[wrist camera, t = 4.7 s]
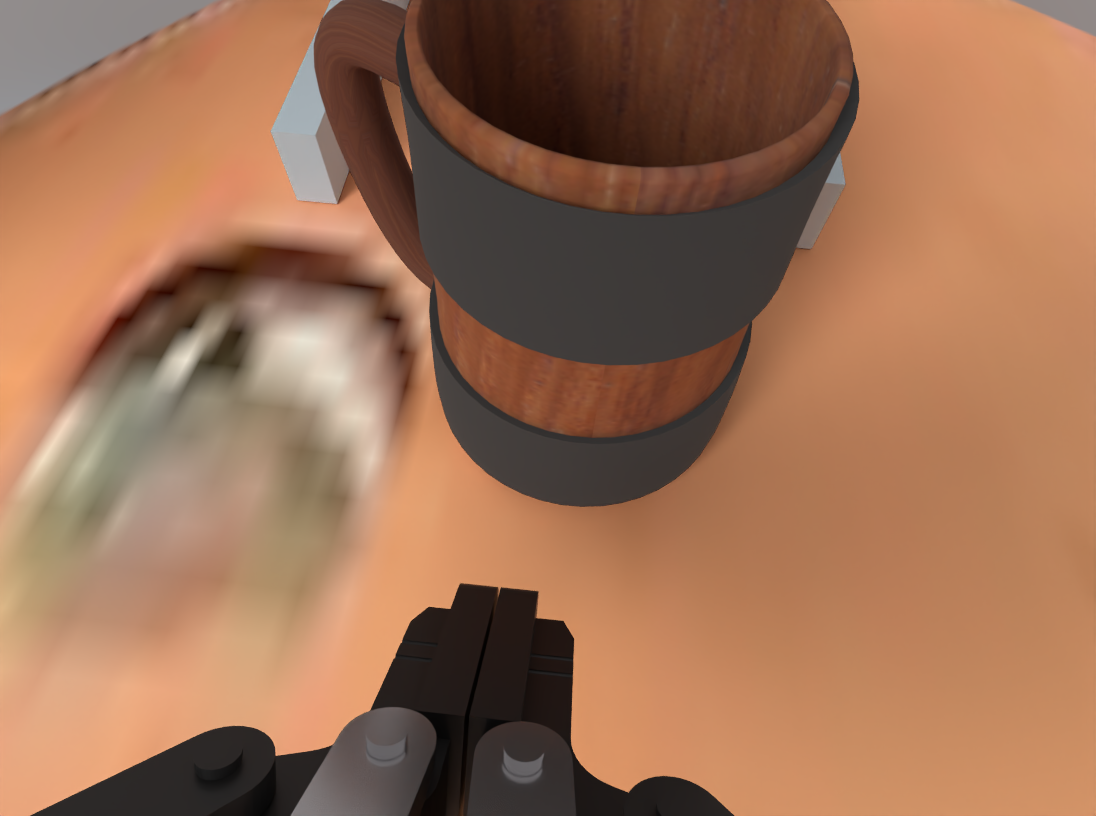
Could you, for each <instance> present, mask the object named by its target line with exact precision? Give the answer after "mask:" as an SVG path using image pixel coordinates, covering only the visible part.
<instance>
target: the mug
mask: <svg viewBox="0 0 1096 816" xmlns="http://www.w3.org/2000/svg"><path fill="white" fill-rule="evenodd" d="M314 68H315V73H316V78H317V83H318V87H319V92H320V95H321V98H322V101H323V105H324V108H325V111H326V114H327V117H328V120H329V122H330V125H331V128H332V130H333V133H334V135H335V138H336V141H337V143H338V145H339V148H340V150H341V152H342V155H343V157H344V159H345V161H346V164H347V166H348V168H349V170H350V172H351V175H352V177H353V179H354V181H355V183H356V185H357V187H358V189H359V191H360V193H361V195H362V197H363V199H364V201H365V203H366V205H367V206H368V208H369V210H370V212H371V214H372V216H373V218H374V219H375V221H376V223H377V224H378V226H379V228H380V229H381V231H382V233H383V234H384V236H385V238H386V239H387V241H388V242H389V243H390V245H391V246H392V248H393V249H394V251H395V252H396V254H397V255H398V256H399V257H400V259H401V260H402V261H403V262H404V264H405V265H406V266H407V267H408V269H409V270H410V271H411V272H412V273H413V274H414V275H415V276H416V277H417V278H418V279H419V280H420V281H422V282H423V283H424V284H425V285H426V286H428V287H429V288H430V289H431V293H430V308H429V314H430V327H431V340H432V350H433V359H434V368H435V375H436V382H437V386H438V391H439V395H440V399H441V402H442V406H443V410H444V413H445V416H446V419H447V421H448V423H449V426H450V428H451V430H452V432H453V434H454V436H455V437H456V439H457V440H458V442H459V443H460V445H461V447H462V448H463V449H464V450H465V451H466V453H467V454H468V455H469V456H470V457H471V459H472V460H473V461H474V462H475V463H476V464H478V465H479V466H480V467H481V468H482V469H483V470H484V471H485V472H486V473H488V474H489V475H490V476H492V477H493V478H495V479H496V480H498V481H499V482H501V483H502V484H504V485H506V486H508V487H510V488H512V489H514V490H516V491H518V492H520V493H522V494H524V495H527V496H530V497H533V498H536V499H539V500H542V501H546V502H551V503H555V504H560V505H569V506H579V507H587V506H605V505H612V504H618V503H623V502H627V501H630V500H633V499H637V498H640V497H643V496H645V495H647V494H650V493H652V492H654V491H656V490H659V489H660V488H662V487H663V486H665V485H667V484H668V483H670V482H672V481H673V480H675V479H676V478H677V477H678V476H679V475H681V474H682V473H683V472H684V471H685V470H687V469H688V468H689V467H690V466H691V464H692V463H693V462H694V461H695V460H696V459H697V458H698V457H699V456H700V454H701V453H702V451H703V450H704V448H705V446H706V445H707V443H708V442H709V440H710V439H711V437H712V436H713V434H714V432H715V430H716V428H717V427H718V425H719V423H720V420H721V418H722V416H723V414H724V411H725V409H726V407H727V405H728V402H729V400H730V398H731V396H732V393H733V391H734V388H735V386H736V383H737V380H738V377H739V375H740V372H741V369H742V366H743V364H744V361H745V358H746V355H747V351H748V347H749V343H750V338H751V327H752V320H753V319H754V318H755V317H756V316H757V315H758V314H759V313H760V312H761V311H762V310H763V309H764V308H765V307H766V306H767V304H768V303H769V302H770V300H771V299H772V297H773V296H774V294H775V293H776V291H777V290H778V288H779V286H780V283H781V281H782V279H783V277H784V274H785V272H786V270H787V268H788V265H789V263H790V261H791V258H792V256H793V254H794V251H795V249H796V247H797V244H798V242H799V240H800V237H801V235H802V233H803V230H804V228H805V226H806V224H807V221H808V219H809V217H810V214H811V212H812V210H813V208H814V206H815V204H816V201H817V199H818V197H819V195H820V193H821V191H822V189H823V187H824V184H825V182H826V180H827V178H828V176H829V174H830V172H831V170H832V168H833V166H834V164H835V161H836V159H837V157H838V155H839V153H840V151H841V149H842V147H843V145H844V143H845V141H846V139H847V137H848V135H849V132H850V130H851V128H852V126H853V123H854V121H855V119H856V114H857V108H858V103H859V81H858V77H857V73H856V69H855V65H854V62H853V53H852V49H851V45H850V41H849V37H848V35H847V33H846V30H845V28H844V26H843V24H842V22H841V20H840V18H839V17H838V16H837V14H836V13H835V11H834V10H833V8H832V7H831V5H830V4H829V3H828V2H827V1H826V0H411V1H410V5H409V8H408V11H407V10H405V9H403V8H401V7H399V6H397V5H395V4H392V3H389V2H385V1H382V0H342V1H340V2H339V3H338V4H336V5H335V6H334V7H333V8H331V9H330V10H329V11H328V12H327V13H326V14H325V16H324V17H323V18H322V20H321V22H320V25H319V28H318V31H317V33H316V36H315V41H314ZM380 76H381V77H383V78H385V79H387V80H389V81H391V82H393V83H395V84H396V85H398V86H400V91H401V97H402V103H403V109H404V115H405V122H406V128H407V134H408V141H409V148H410V155H411V164H412V171H411V169H410V167H409V164H408V162H407V159H406V157H405V155H404V152H403V150H402V147H401V144H400V142H399V139H398V136H397V134H396V131H395V128H394V125H393V122H392V119H391V116H390V113H389V110H388V107H387V103H386V100H385V96H384V92H383V89H382V85H381V80H380ZM412 172H413V174H412Z"/></svg>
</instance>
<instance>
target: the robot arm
mask: <svg viewBox="0 0 1096 816" xmlns="http://www.w3.org/2000/svg"><path fill="white" fill-rule="evenodd" d="M498 593H499V591H498V587H491V586H482V585H472V584H463V583H461V584H460V585H459V587H458V590H457V593H456V596H455V598H454V601H453V604H452V607H451V609H444V608H434V607H428V608H427V609H426V610H424V611H423V612H422V613H421V614H419V615H418V616H417V617H416V618H414V619H413V620H412V621H411V622H410V624H409V626H408V629H407V631H406V633H405V635H404V637H403V640H402V643H401V644H400V646H399V648H398V651H397V653H396V656H395V659H393V662H392V664H391V666H390V668H389V670H388V673H387V675H386V677H385V679H384V681H383V684H382V686H381V688H380V690H379V692H378V695H377V697H376V699H375V701H374V704H373V706H372V708H371V710H370V711H369V712H366V713H363V714H362V715H360V716H358V717H356V718H355V719H353V720H352V721H351V722H349V723H348V724H347V725H346V726H345V727H344V729H343V730H342V731H341V733H340V734H339V736H338V738H337V739H336V741H335V743H334V744H333V745H331V746H329V747H326V748H322V749H319V750H314V751H308V752H301V753H294V754H287V755H280V756H275V746H274V744H273V742H272V740H271V739H270V737H269V736H267V735H266V734H265V733H264V732H262V731H260V730H258V729H254V728H251V727H245V726H229V727H222V728H217V729H213V730H210V731H207V732H204V733H202V734H200V735H197V736H195V737H193V738H191V739H189V740H187V741H185V742H183V743H180V744H178V745H176V746H174V747H172V748H170V749H168V750H166V751H164V752H162V753H160V754H158V755H156V756H153V757H151V758H149V759H147V760H145V761H143V762H141V763H139V764H137V765H135V766H133V767H131V768H128V769H126V770H124V771H122V772H120V773H118V774H116V775H114V776H112V777H110V778H108V779H106V780H104V781H101V782H99V783H97V784H95V785H93V786H91V787H89V788H87V789H85V790H83V791H81V792H79V793H76V794H74V795H72V796H70V797H68V798H66V799H64V800H62V801H60V802H58V803H56V804H54V805H52V806H49V807H47V808H45V809H43V810H41V811H39V812H37V813H35V814H33V815H31V816H734V815H733V814H732V813H731V812H730V811H729V810H728V809H727V808H725V807H724V806H723V805H722V804H721V803H720V802H719V801H718V800H717V799H716V798H715V797H714V796H712V795H711V794H710V793H709V792H708V791H706V790H705V789H703V788H702V787H700V786H698V785H696V784H694V783H692V782H690V781H687V780H684V779H681V778H676V777H668V776H660V777H653V778H648V779H646V780H643V781H641V782H640V783H638V784H637V785H635V786H634V787H633V788H632V789H631V790H630V792H629V793H628V792H625V791H623V790H620V789H618V788H615V787H613V786H610V785H608V784H606V783H604V782H602V781H600V780H599V779H597V778H595V777H594V776H593V775H591V774H590V773H589V772H588V771H586V769H585V768H584V767H583V766H582V765H581V764H580V763H579V761H578V760H577V758H576V756H575V754H574V752H573V749H572V746H571V713H572V684H573V654H574V638H573V636H572V635H571V633H570V631H569V630H568V628H567V626H566V625H565V623H564V621H558V620H548V619H539V618H536V616H537V605H538V591H530V590H521V589H511V588H502V587H501V589H500V593H499V597H498Z"/></svg>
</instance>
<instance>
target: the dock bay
mask: <svg viewBox="0 0 1096 816" xmlns="http://www.w3.org/2000/svg"><path fill="white" fill-rule="evenodd" d="M340 1H342V0H331V1H330V3H329V5H328V7H327V9H326V12H325V14H326V13H327V12H328V11H329V10H330V9H331V8H333V7H334V6H335V5H336V4H338V3H339V2H340ZM382 1H385V2H389V3H392V4H395V5H397V6H399V7H401V8H403V9H405V10H406V9H407V6H408V4H409V1H410V0H382ZM325 14H324V16H325ZM324 16H323V17H324ZM318 28H319V27H318ZM317 31H318V29H317ZM317 31H316V33H317ZM316 33H315V36H316ZM315 36H314V38H313V40H312V42H311V44H310V47H309V49H308V51H307V53H306V55H305V57H304V60H303V62H302V64H301V66H300V68H299V71H298V73H297V75H296V77H295V79H294V82H293V84H292V86H291V88H290V90H289V92H288V95H287V97H286V99H285V101H284V103H283V106H282V108H281V110H280V112H279V114H278V116H277V119H276V121H275V123H274V125H273V127H272V130H271V133H272V136H273V139H274V141H275V144H276V146H277V149H278V151H279V154H280V157H281V159H282V162H283V164H284V167H285V170H286V172H287V175H288V177H289V180H290V182H291V185H292V188H293V190H294V193H295V195H296V198H297V200H302V201H312V202H323V203H333V204H337V203H338V200H339V198H340V195H341V192H342V189H343V186H344V184H345V181H346V178H347V175H348V172H349V168H348V166H347V164H346V161H345V159H344V157H343V155H342V152H341V150H340V148H339V145H338V143H337V141H336V138H335V135H334V133H333V130H332V128H331V125H330V122H329V120H328V117H327V114H326V111H325V108H324V105H323V101H322V98H321V95H320V92H319V87H318V83H317V78H316V73H315V68H314V41H315ZM380 80H382V77H381V76H380ZM845 185H846V184H845V178H844V172H843V166H842V161H841V155H840V153H839V155H838V157H837V159H836V161H835V164H834V166H833V168H832V170H831V172H830V174H829V176H828V178H827V180H826V182H825V184H824V187H823V189H822V191H821V193H820V195H819V197H818V199H817V201H816V204H815V206H814V208H813V210H812V212H811V214H810V217H809V219H808V221H807V224H806V226H805V228H804V230H803V233H802V235H801V237H800V240H799V242H798V244H797V247H796V248H806V249H812V247H813V245H814V243H815V241H816V240H817V238H818V236H819V234H820V232H821V230H822V228H823V226H824V224H825V223H826V221H827V219H828V217H829V215H830V213H831V211H832V209H833V207H834V206H835V204H836V202H837V200H838V198H839V196H840V194H841V192H842V191H843V189H844V187H845Z"/></svg>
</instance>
